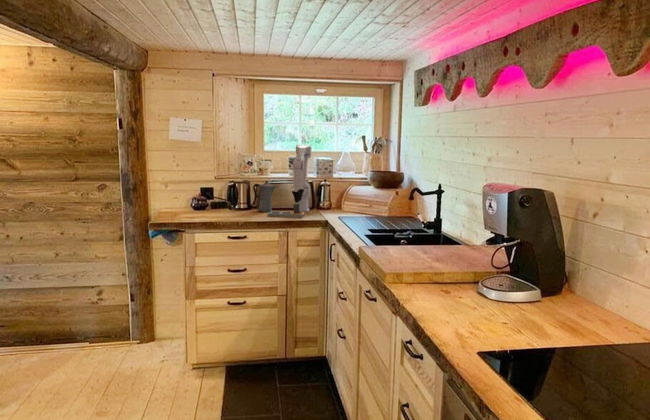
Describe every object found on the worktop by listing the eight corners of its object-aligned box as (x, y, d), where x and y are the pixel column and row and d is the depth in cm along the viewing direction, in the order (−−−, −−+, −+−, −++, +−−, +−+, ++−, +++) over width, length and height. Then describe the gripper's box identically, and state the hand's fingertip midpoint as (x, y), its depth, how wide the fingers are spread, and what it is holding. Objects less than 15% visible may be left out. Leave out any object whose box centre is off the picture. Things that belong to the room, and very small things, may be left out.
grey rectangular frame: (271, 214, 308) (271, 210, 307) (305, 215, 304) (305, 212, 304) (268, 216, 300) (268, 212, 299) (302, 217, 297) (302, 214, 296)
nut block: (294, 215, 303) (294, 203, 302) (300, 216, 303) (300, 203, 301) (293, 216, 300) (293, 204, 298) (299, 217, 299) (299, 204, 298)
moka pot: (275, 212, 314) (275, 182, 311) (251, 212, 314) (251, 181, 311) (276, 210, 323) (276, 180, 320) (254, 209, 324) (253, 180, 320)
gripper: (294, 178, 305) (294, 199, 307) (289, 181, 291) (289, 203, 293) (305, 178, 304) (305, 200, 306) (300, 181, 290) (300, 203, 292)
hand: (298, 201), depth 300 cm, fingers open, 7 cm apart
